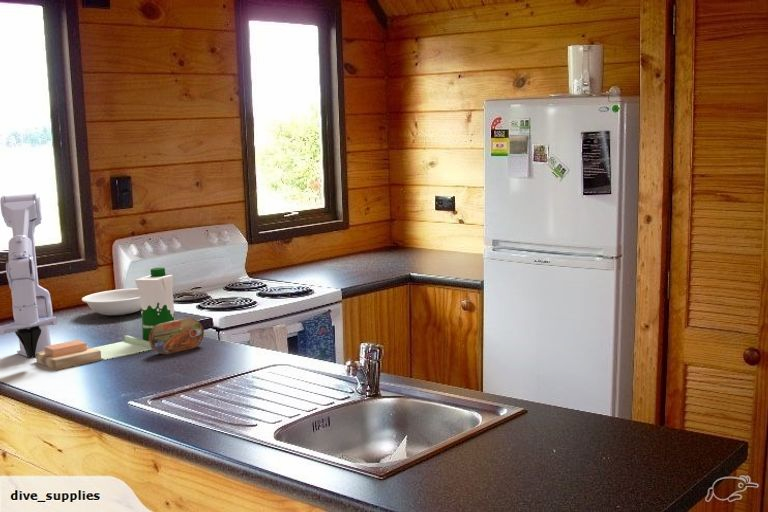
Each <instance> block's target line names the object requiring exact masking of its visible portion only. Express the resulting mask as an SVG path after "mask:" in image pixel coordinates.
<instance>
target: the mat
mask: <svg viewBox="0 0 768 512" xmlns="http://www.w3.org/2000/svg"><path fill="white" fill-rule="evenodd" d="M93 348H94V349H97V350H100V351H101V359H102V360H103V361H107V359H108V360H113V359H117V358H122V357H126V356H129V355H135V354H139V352H140V353H144V352H148V350H149V351H154V350H153V349H152V347H151V346H150V343H149V341H145V340H143V338H142V339H141V338H138V337H134V336H131V335H128V334H127V335H124V340H123V341H119V342H118V341H117V342H115V343H114V342H113V343H109V344H105V345H99V346H94V347H93ZM143 351H144V352H143ZM112 358H113V359H112Z"/></svg>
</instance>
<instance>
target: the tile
mask: <svg viewBox="0 0 768 512" xmlns="http://www.w3.org/2000/svg"><path fill="white" fill-rule="evenodd" d="M87 346H88V345H87V342H85V341H82V340H78V339H75V340H71V341H64V342H59V343H56V344H55V343H54V344H51V345H50V346H45V347H44V350H45V354H46V355H49V356H51V357H58V356H62V355H67V354H72V353H77V352H81V351H86V350H87Z"/></svg>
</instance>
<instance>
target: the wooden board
mask: <svg viewBox="0 0 768 512" xmlns="http://www.w3.org/2000/svg"><path fill="white" fill-rule="evenodd" d="M35 359H36V362H37V363H38V364H42V365H44V366H46V367H49V368H51V369H52V370H53V369H54V370H55V371H58V370H64V369H68V368H72V367H71V366H73V367H76V366H75V365H77V366H81V365H80V364H82V365H86V364H90V362H91V363H94V362H99V360H100V361H102V360H103V359H101V351H100V350H97V349H94V347H91V346H88V345H87V350H86V351H81V352H77V353H72V354H67V355H62V356H58V357H51V356H49V355H46V354H45V351H41V352H36V356H35ZM85 363H86V364H85ZM63 368H64V369H63Z"/></svg>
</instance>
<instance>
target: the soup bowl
mask: <svg viewBox="0 0 768 512" xmlns="http://www.w3.org/2000/svg"><path fill="white" fill-rule="evenodd" d="M81 301H82V302H83V303H86V304H87V305H88V307H89V308H90V309H91V310H93V311H94V312H96V313H97V314H100V315H104V316H124V315H128V314H133V313H136V312H139V311H141V304H140V295H139V291H138V288H136V287H134V288H133V287H132V288H131V287H130V288H120V289H113V290H112V289H111V290H105V291H100V292H99V291H98V292H95V293H91V294H88V295H85V296H83V297H81Z"/></svg>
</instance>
